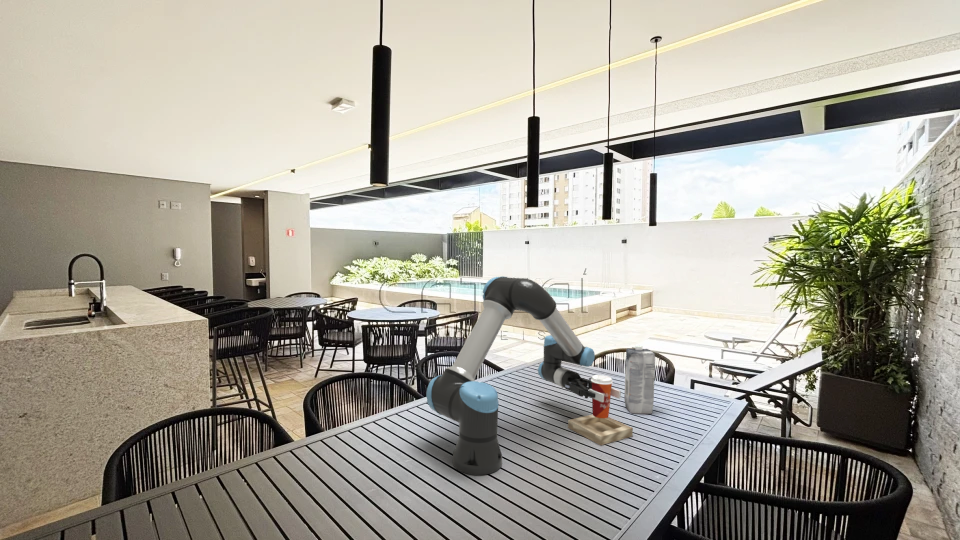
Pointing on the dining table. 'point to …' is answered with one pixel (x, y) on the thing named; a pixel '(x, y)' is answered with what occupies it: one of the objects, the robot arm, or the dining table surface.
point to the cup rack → (600, 429)
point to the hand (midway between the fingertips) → (611, 396)
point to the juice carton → (639, 380)
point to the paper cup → (604, 387)
